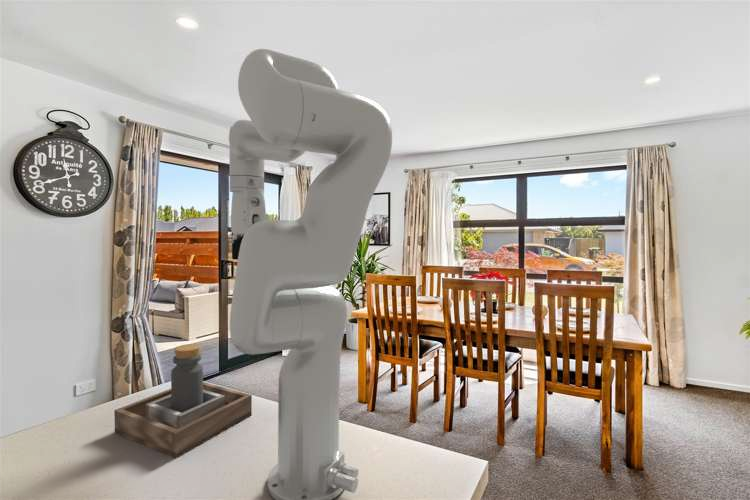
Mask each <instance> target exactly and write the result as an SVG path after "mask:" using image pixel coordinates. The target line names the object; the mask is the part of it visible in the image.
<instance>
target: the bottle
mask: <svg viewBox="0 0 750 500" xmlns="http://www.w3.org/2000/svg"><path fill="white" fill-rule="evenodd" d="M200 348H201V346H200V345H199V344H195V343H187V344H186V343H185V344H181V345H179V346H175V347H174V349H173V350H174V354H175V356H173V358H172V362H173V364H175V365H176V366H174V367H173V368H172V369H171V372H170V373H171V374H170V378H171V379H170V381H171V382H170V384H171V387H170V389H171V409H172V410H175V411H178V412H180V413H183V412H185V411H187V410H189V409H191V408H194V407H196V406H198V405H200V404H202V403H203V382H204V367H203V365H202V364H200V363H199V362H200V361H201V360H202V354H201V353H200V350H201V349H200Z"/></svg>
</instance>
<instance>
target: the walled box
mask: <svg viewBox="0 0 750 500" xmlns="http://www.w3.org/2000/svg"><path fill="white" fill-rule="evenodd" d="M252 396H253V395H252V394H249V393H244V392H241V391H238V390H235V389H230V388H227V387H223V386H219V385H215V384H212V383H209V382H205V381H203V403H202V404H200V405H198V406H196V407H194V408H191V409H189V410H187V411H185V412H183V413H180V412H178V411H175V410H172V409H171V388H169V389H166V390H164V391H162V392H159V393H156V394H154V395H150V396H148V397H146V398H142V399H140V400H137V401H135V402H132V403H130V404H127V405H124V406H122V407H119V408H117V409H115V410H114V433H115V434H116V435H119V436H122V437H123V438H126V439H128V440H131V441H133V442H136V443H138V444H140V445H143V446H145V447H147V448H149V449H152V450H154V451H157V452H160V453H162V454H164V455H166V456H168V457H171V458H174V459H177V458H179V457H181V456H182V455H184V454H186V453H188V452H189V451H192V450H194V449H195V448H197V447H199V446H201V445H202V444H204V443H206V442H208V441H209V440H211V439H212V438H214V437H216V436H218V435H219V434H222V433H223V432H225V431H227V430H228V429H229V430H230V428H232V427H234V426H235V425H238V424H239V423H241V422H243V421H245V420H246V419H248V418H250V417H251V416H252V410H253V409H252V405H253V404H252V398H253V397H252Z"/></svg>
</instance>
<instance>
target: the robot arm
mask: <svg viewBox="0 0 750 500" xmlns="http://www.w3.org/2000/svg"><path fill="white" fill-rule="evenodd" d="M237 87H238V89H237V90H238V95H239V96H238V97H239V99H240V102H241V104H242V107H243V108H244V111H245V112H246V114H247V116H248V117H249V119H250V120H247V119H239V120H236V121H234V123H233V124H232V126H231V127H230V128H229V134H228V142H229V143H228V144H229V192H230V193H232V196H231V207H230V209H231V210H230V228H231V259H232V260H236V261H237V265H236V269H235V270H236V271H235V278H234V285H233V291H232V298H231V303H230V304H231V305H230V306H231V307H230V314H229V333H230V334H229V335H230V339H231V342H232V344H233V346H234V347H235V349H236V350H238V351H239V352H241V353H243V354H245V355H260V354H262V355H263V354H269V353H274V352H281V351H287V350H289V351H288V352H287V354H286V355H285V358H284V360H283V361H282V365H281V366H280V370H279V376H278V393H277V395H278V396H277V397H278V403H277V406H278V407H277V410H278V414H277V416H278V417H277V418H278V419H277V421H278V422H277V423H278V427H277V428H278V430H277V433H278V435H277V436H278V437H277V450H278V451H277V463H276V464H275V465H274V466H273V467H272V468H271V470H270V471H269V473H268V475H267V488H268V493H269V494H270V495H271V497H272V498H273V499H274V500H333V499H335V498H336V497H338V496H339V495H340V494H342V492H343V491H344V490H345V491H347V492H349V493H352V494H354V493H356V490H357V489H358V485H359V479H358V476H359V469H358V468H356V467H353V466H348V465H347V464H346V463H345V452H343V451H341V450H340V449H339V448H340V447H339V445H340V444H339V443H340V442H339V440H340V436H339V435H340V430H339V429H340V426H339V425H340V384H341V383H340V379H341V378H340V377H341V358H342V357H341V355H342V348H343V347H342V346H343V340H344V335H345V331H346V325H347V319H348V317H347V316H348V308H347V302H346V299H345V297H344V295H343V294H342V292H341V291H340V290H339V289H337V288H335V287H334V286H335V285H339V284H341V283H342V282H343V281H345V280H346V279H347V277H348V276H349V274H350V272H351V268H352V266H353V263H354V259H355V255H356V253H357V252H356V251H357V249H358V245H359V242H360V239H361V235H362V231H363V227H364V224H365V220H366V217H367V212H368V208H369V206H370V202H371V200H372V198H373V196H374V194H375V191H376V189H377V188H378V186H379V183H380V182H381V180H382V178H383V175H384V172H385V171H386V168H387V166H388V163H389V160H390V157H391V153H392V148H393V131H392V129H393V128H392V124H391V121H390V117H389V116H388V114H387V112H386V111H385V110H384V108H382V106H380V105H379V104H378V103H376V102H375V101H374V100H371V99H369V98H368V97H364V96H362V95H359V94H356V93H353V92H349V91H345V90H342V89H338V84H337V81H336V80H335V78H334V76H333V75H332V73H331V72H330V71H329V70H328V69H327V68H325V67H324V66H322V65H320V64H318V63H316V62H313V61H310V60H306V59H302V58H299V57H295V56H292V55H288V54H286V53H282V52H278V51H275V50H272V49H267V48H258V49H254V50H253V51H251V52H249V54H248V55H246V57H245V59H244V60H243V61H242V64H241V66H240V68H239V72H238V79H237ZM305 152H309V153H316V154H327V155H332V156H335V157H336V158H335V159H334V160H333V161H332V162H331V163H330V164H328V165H326V167H324V169H322V170H321V171H320V173H319V174H318V175H317V176H316V177H315V178H314V180H313V181H312V182H311V184H309V187H308V189H307V192H306V196H305V197H306V198H305V203H304V207H303V210H302V214H301V216H300V217H299V218H298V219H295V220H285V219H283V220H281V219H267V215H266V214H267V211H266V200H265V160H266V161H271V162H272V161H273V162H281V163H288V162H293V161H295V160H297V159H298V158H300V157H302V156H303V155H304V154H305Z"/></svg>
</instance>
